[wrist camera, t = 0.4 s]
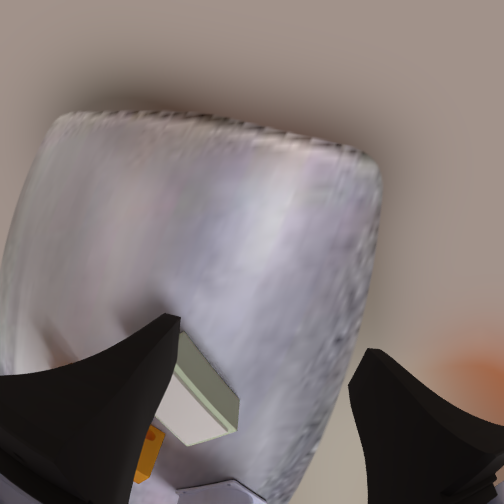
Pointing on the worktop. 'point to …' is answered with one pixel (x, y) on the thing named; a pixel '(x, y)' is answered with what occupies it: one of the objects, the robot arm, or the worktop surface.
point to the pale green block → (197, 399)
